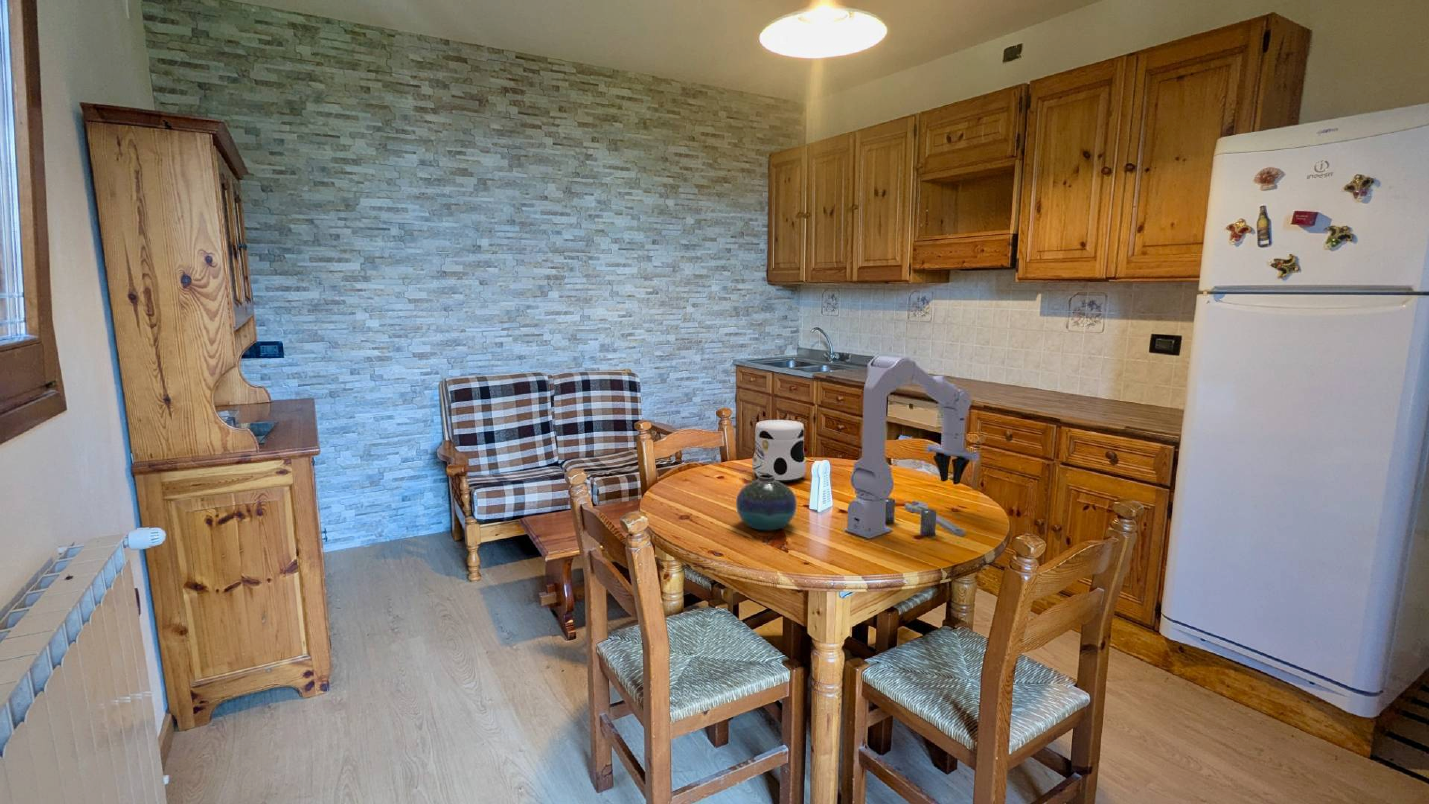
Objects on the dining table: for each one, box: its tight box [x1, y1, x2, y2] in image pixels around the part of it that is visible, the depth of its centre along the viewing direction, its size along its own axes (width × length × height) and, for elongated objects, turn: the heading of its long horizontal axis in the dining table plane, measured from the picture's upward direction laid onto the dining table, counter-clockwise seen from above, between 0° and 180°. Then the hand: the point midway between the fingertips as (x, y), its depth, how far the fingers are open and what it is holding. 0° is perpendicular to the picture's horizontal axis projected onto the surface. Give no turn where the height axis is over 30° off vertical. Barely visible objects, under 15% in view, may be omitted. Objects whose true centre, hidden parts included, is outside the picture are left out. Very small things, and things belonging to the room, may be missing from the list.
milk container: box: [751, 419, 807, 483], centre depth 215 cm, size 17×17×18 cm
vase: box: [735, 474, 798, 532], centre depth 170 cm, size 15×15×13 cm
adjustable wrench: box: [904, 500, 966, 537], centre depth 176 cm, size 25×6×2 cm, turn 8°
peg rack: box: [885, 497, 937, 538], centre depth 170 cm, size 4×16×6 cm, turn 40°
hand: (950, 482), depth 181 cm, fingers open, 3 cm apart
